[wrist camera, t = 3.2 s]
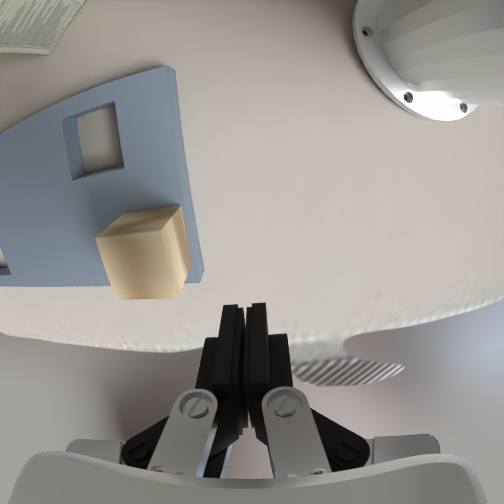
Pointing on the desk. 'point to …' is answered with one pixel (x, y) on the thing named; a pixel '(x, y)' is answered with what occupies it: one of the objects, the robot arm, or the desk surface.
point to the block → (146, 253)
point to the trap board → (90, 182)
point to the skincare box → (34, 24)
